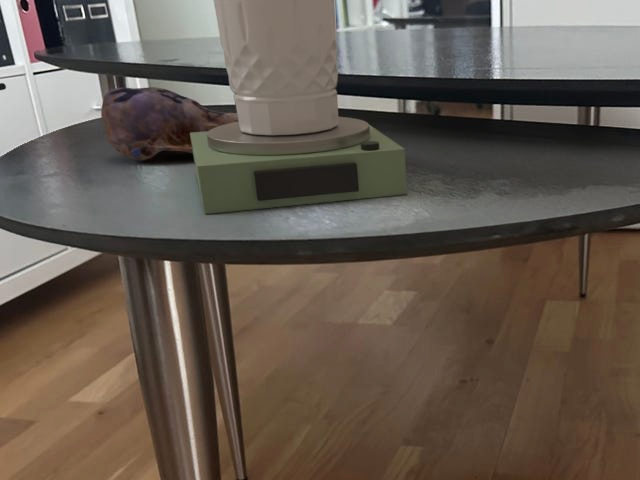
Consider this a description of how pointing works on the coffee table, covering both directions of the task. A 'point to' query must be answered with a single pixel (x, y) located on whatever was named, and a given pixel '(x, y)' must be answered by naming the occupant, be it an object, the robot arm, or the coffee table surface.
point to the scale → (298, 175)
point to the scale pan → (288, 139)
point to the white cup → (281, 64)
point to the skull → (155, 121)
